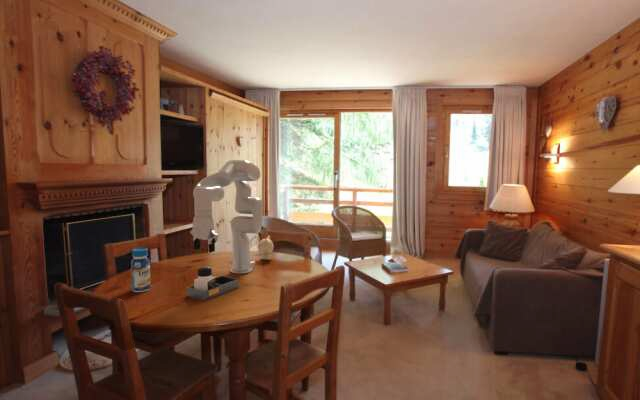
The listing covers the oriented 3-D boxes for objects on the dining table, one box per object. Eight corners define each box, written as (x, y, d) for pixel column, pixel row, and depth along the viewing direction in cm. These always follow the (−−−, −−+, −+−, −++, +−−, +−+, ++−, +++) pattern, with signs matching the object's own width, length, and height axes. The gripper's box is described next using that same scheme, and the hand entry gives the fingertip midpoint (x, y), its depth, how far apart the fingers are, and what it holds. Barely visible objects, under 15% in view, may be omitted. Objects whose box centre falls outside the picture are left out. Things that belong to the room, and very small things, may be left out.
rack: (222, 283, 188) (222, 275, 188) (238, 287, 182) (238, 279, 182) (186, 296, 169) (186, 287, 169) (204, 301, 163) (204, 292, 163)
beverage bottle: (141, 286, 183) (140, 246, 181) (154, 288, 180) (153, 248, 178) (127, 291, 175) (125, 250, 173) (141, 293, 172) (139, 251, 170)
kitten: (261, 256, 245) (261, 234, 243) (276, 256, 244) (276, 234, 242) (255, 262, 230) (255, 238, 229) (270, 262, 229) (270, 239, 228)
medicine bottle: (208, 296, 167) (207, 270, 166) (194, 294, 169) (193, 269, 168) (216, 291, 174) (215, 266, 173) (202, 289, 176) (202, 265, 175)
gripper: (184, 213, 169) (185, 249, 171) (210, 216, 160) (211, 254, 162) (197, 211, 175) (198, 246, 177) (223, 214, 166) (223, 251, 168)
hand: (204, 250), depth 170 cm, fingers open, 9 cm apart
